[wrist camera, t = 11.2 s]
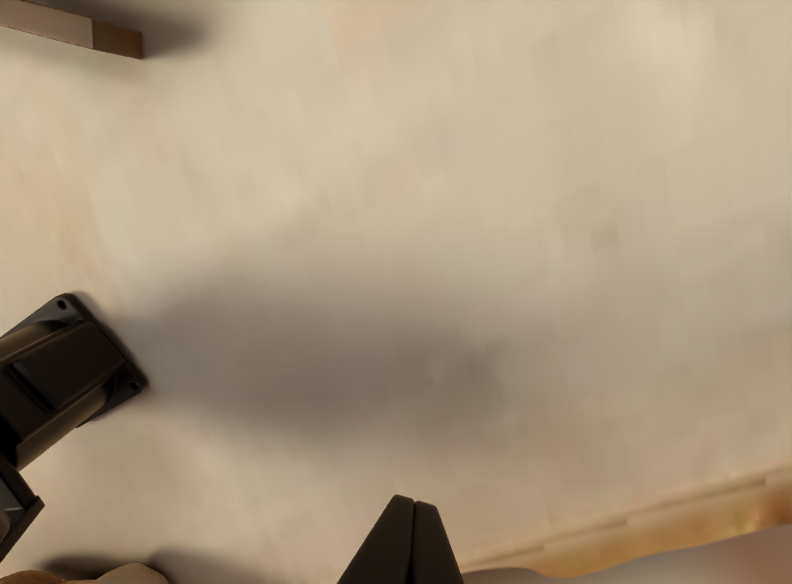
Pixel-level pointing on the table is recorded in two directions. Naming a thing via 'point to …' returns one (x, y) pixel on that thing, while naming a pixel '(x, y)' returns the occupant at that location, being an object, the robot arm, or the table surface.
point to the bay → (70, 28)
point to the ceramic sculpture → (127, 580)
